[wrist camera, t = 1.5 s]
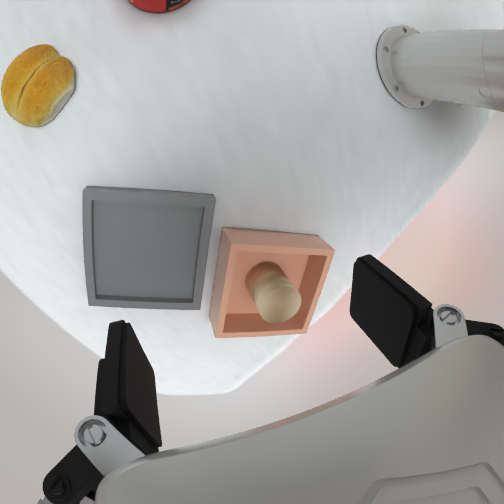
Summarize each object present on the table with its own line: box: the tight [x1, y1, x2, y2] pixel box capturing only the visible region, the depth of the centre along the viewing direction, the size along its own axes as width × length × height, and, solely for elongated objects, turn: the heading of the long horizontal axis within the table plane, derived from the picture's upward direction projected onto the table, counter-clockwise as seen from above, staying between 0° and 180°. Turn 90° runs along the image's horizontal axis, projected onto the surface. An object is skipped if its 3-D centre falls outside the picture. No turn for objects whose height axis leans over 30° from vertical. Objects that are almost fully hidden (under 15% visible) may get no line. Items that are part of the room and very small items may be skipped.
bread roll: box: [1, 44, 75, 127], centre depth 19 cm, size 8×9×4 cm
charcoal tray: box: [83, 186, 216, 310], centre depth 32 cm, size 14×14×2 cm
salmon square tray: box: [209, 227, 335, 338], centre depth 37 cm, size 13×13×4 cm
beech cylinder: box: [245, 261, 301, 323], centre depth 35 cm, size 5×5×6 cm
